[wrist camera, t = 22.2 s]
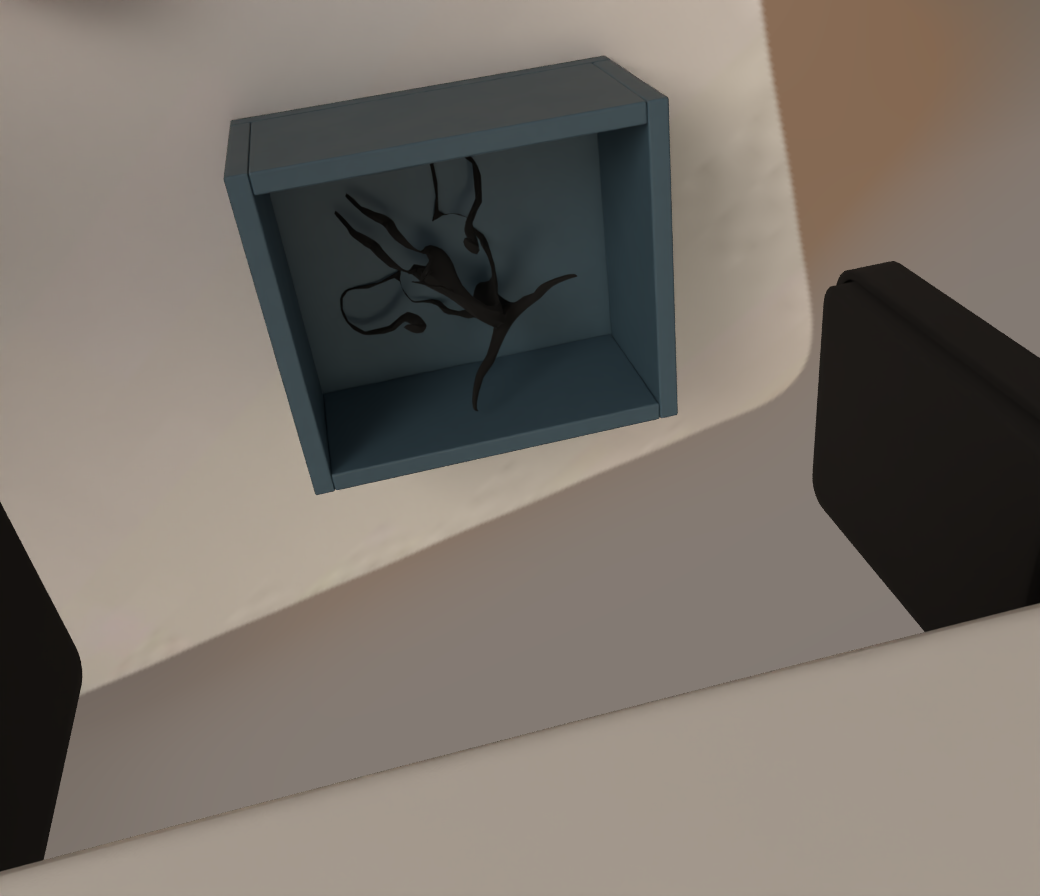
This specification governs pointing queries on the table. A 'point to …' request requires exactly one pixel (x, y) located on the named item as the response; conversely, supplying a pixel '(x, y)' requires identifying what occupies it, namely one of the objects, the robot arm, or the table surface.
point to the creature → (450, 280)
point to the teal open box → (463, 264)
